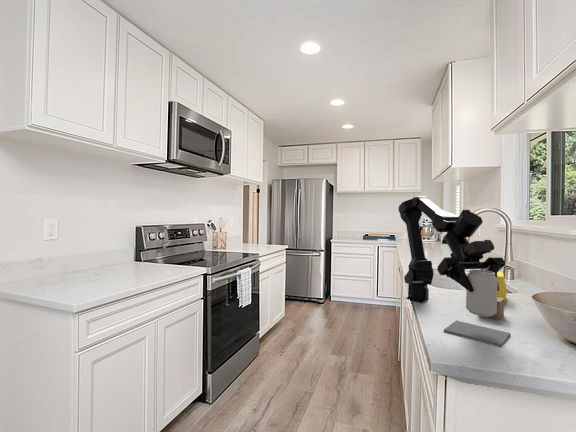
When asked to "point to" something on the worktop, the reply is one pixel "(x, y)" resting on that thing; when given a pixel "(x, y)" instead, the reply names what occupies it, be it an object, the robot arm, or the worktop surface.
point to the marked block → (498, 309)
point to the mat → (478, 333)
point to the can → (482, 293)
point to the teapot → (501, 286)
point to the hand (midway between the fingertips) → (485, 291)
